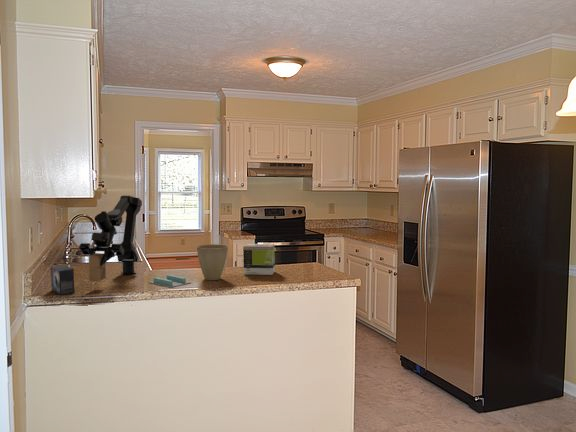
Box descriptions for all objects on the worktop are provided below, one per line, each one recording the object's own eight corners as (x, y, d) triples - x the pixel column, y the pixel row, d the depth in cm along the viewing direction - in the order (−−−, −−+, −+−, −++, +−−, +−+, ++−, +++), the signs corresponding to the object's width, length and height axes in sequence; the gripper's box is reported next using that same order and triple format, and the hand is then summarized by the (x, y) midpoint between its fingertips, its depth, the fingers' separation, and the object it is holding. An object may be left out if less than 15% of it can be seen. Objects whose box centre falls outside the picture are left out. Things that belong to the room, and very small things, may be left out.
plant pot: (233, 279, 236) (233, 246, 234) (207, 283, 226) (207, 249, 224) (217, 274, 247) (216, 243, 245) (191, 278, 237) (190, 245, 236)
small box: (50, 290, 210) (49, 266, 209) (65, 288, 215) (65, 264, 214) (59, 295, 202) (58, 270, 202) (75, 292, 207) (74, 268, 206)
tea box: (274, 271, 255) (275, 243, 253) (272, 275, 245) (272, 246, 243) (246, 270, 256) (246, 243, 255) (243, 274, 246) (243, 245, 245)
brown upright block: (97, 277, 217) (96, 253, 216) (105, 277, 216) (105, 253, 215) (89, 281, 210) (88, 256, 209) (98, 281, 209) (97, 256, 208)
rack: (148, 282, 227) (148, 277, 226) (169, 278, 236) (169, 273, 236) (170, 287, 217) (170, 282, 217) (190, 283, 226) (190, 278, 226)
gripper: (80, 225, 215) (67, 254, 205) (121, 225, 214) (110, 255, 204) (89, 240, 224) (77, 268, 214) (128, 241, 222) (119, 269, 213)
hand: (95, 265), depth 211 cm, fingers closed on brown upright block, 4 cm apart
